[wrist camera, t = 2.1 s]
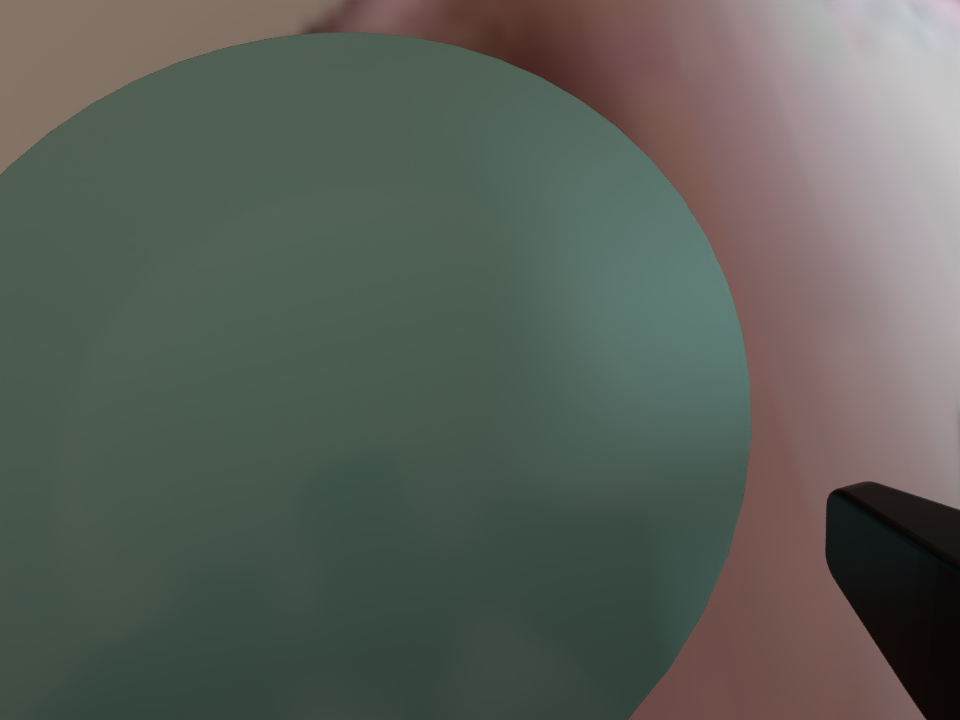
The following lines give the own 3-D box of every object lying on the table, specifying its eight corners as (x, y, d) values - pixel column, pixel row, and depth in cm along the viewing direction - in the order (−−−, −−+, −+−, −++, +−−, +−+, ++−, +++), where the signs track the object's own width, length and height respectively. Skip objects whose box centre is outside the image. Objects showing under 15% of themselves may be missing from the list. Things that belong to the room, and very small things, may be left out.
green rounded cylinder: (546, 742, 15) (719, 998, 4) (251, 679, 16) (-335, 747, 4) (587, 448, 17) (769, 87, 6) (330, 400, 18) (74, -10, 7)
